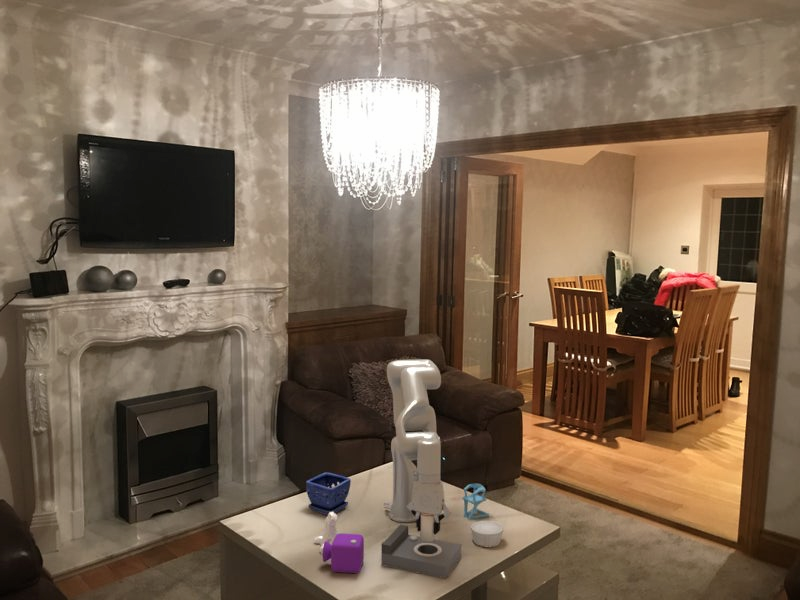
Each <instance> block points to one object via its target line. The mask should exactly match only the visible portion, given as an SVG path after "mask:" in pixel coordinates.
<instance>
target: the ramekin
mask: <svg viewBox="0 0 800 600" xmlns="http://www.w3.org/2000/svg"><path fill="white" fill-rule="evenodd" d="M470 530H471V531H470V532H471V535H472V540H473V542H474V543H475V544H476V545H478V546H479V545H480V546H479V547H483V546H485V548H491V547H490V546H494V547H496V545H497V546H498V545H500V543H501V541H502V537H503V534H504V533H503V532H504V527H503V525H501V524H500V523H498V522H496V521H491V520H479V521H475V522H473V523H472V524H471V525H470ZM486 546H487V547H486Z"/></svg>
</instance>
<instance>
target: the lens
mask: <svg viewBox="0 0 800 600" xmlns="http://www.w3.org/2000/svg"><path fill="white" fill-rule="evenodd" d="M434 522H435V517H434V515H433V514H427V513H421V531H420V535H419V536H420V538H421V540H423V541H434V540H437V539H436V538H437V536H436V535H437V534H436V535H435V534H434Z"/></svg>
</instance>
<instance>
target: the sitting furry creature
mask: <svg viewBox="0 0 800 600" xmlns="http://www.w3.org/2000/svg"><path fill="white" fill-rule="evenodd" d="M338 518H339V517H338V515H337V514H336V513H334V512H329V514H328V515H327V517H326V518H325V521H324V528H323V531H322V532H323V533H322V534H323V535H318V536H315V537H314V544H317V545H320V547H319V553H320V552H321V550H322V548H323V546H324V543H325V541H327V542H329V543H330V544H331V545H332V543H333V541H334V539H335V537H336V535H337V534H340V533H339V532H338V529H337V525H336V524H338Z"/></svg>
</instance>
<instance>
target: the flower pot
mask: <svg viewBox="0 0 800 600" xmlns="http://www.w3.org/2000/svg"><path fill="white" fill-rule="evenodd" d="M351 482H352V480H351V478H349V477H346V476H343V475H340V474H336V473H332V472H323V473H321V474H318V475H317V476H314V477H313V478H310V479H308V480H306V481H305V489H306V490H305V491H306V494H307V497H308V499H309V502H310V504H309V503H308V508H309V509H310V510H312V511H314V512H317V513H321V514H324V515H327V516H328V514H329V512H334V513H335V514H336V513H337V512H340V511H341V510H343V509H344V508H346V507H347V506H348V505H349V502H348V501H346V500H347V498H348V496H349V492H350V489H351ZM333 485H334V486H333Z"/></svg>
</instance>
